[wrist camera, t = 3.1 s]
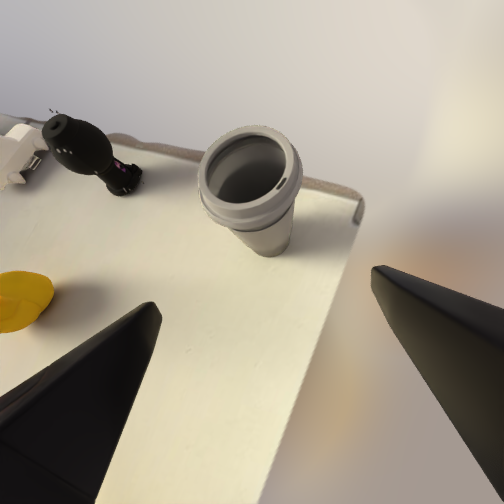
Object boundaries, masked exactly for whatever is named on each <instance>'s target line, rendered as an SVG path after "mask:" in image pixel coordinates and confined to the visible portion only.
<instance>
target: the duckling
mask: <svg viewBox="0 0 504 504" xmlns="http://www.w3.org/2000/svg"><path fill="white" fill-rule="evenodd" d="M53 295H54V287H53V284H52V282H51V280H50V279H49V278H48V277H46V276H44V275H41V274H37V273H32V272H26V271H11V272H5V273H1V274H0V334H1V333H10V332H15V331H18V330H21V329H23V328H25V327H27V326H28V325H30V324H31V323H32V322H34V321H35V320H36V319H37V318H38V317H39V314H40V313H41V312H42V311H43V310H44V309H45V308H46V307H47V306H48V305H49V303H50V301H51V300H52V298H53Z"/></svg>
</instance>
